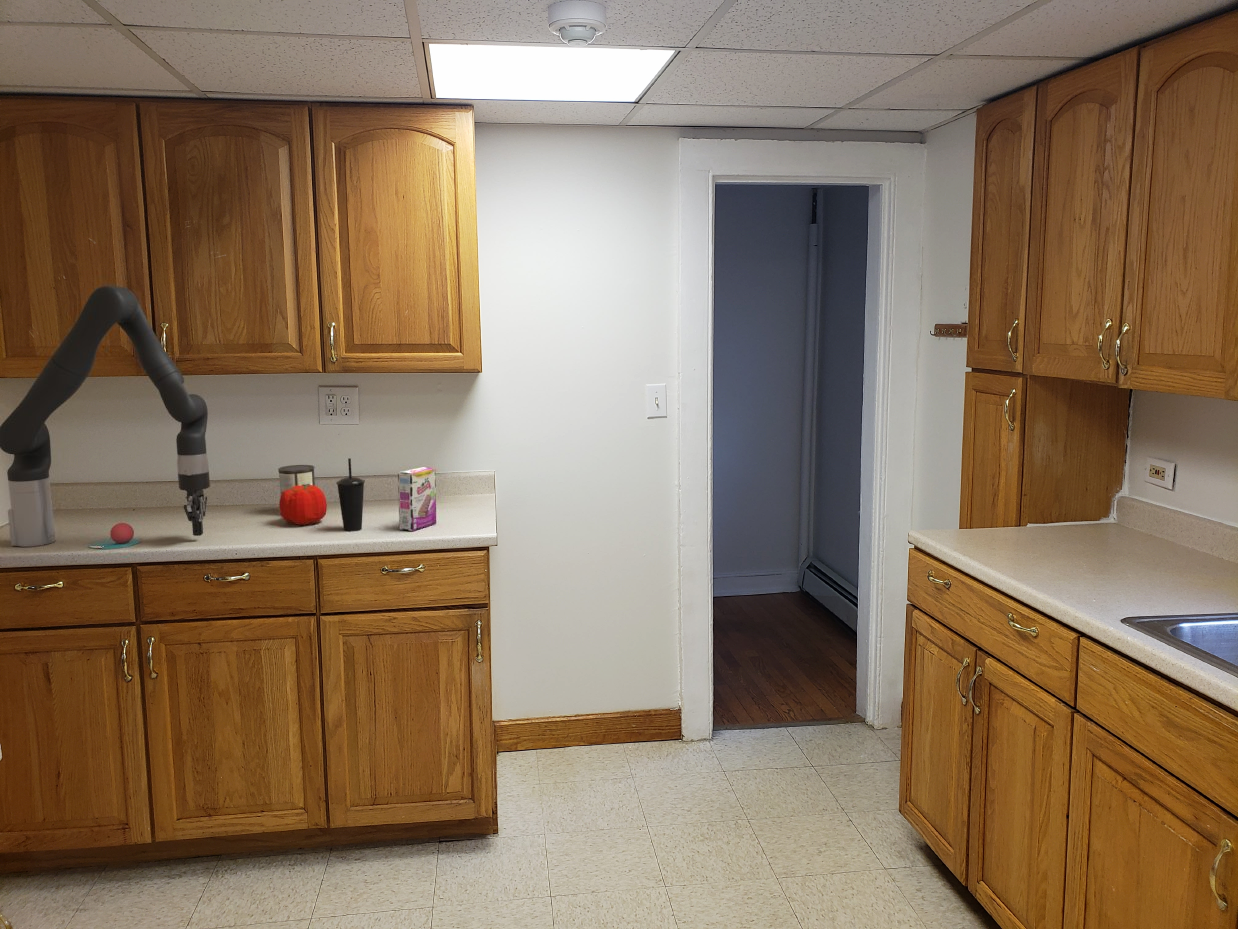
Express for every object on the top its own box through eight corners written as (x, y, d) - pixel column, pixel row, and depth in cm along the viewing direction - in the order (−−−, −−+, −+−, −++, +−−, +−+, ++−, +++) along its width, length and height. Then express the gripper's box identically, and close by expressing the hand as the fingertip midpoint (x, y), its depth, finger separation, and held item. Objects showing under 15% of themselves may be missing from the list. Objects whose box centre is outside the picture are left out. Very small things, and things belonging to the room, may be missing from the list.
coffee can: (294, 509, 293) (291, 464, 290) (323, 510, 290) (321, 465, 288) (273, 516, 283) (270, 469, 281) (304, 517, 280) (301, 470, 278)
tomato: (287, 518, 280) (285, 483, 278) (333, 517, 280) (331, 482, 279) (273, 528, 266) (271, 491, 264) (321, 527, 267) (319, 491, 265)
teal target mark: (80, 550, 243) (80, 549, 243) (99, 539, 254) (99, 538, 254) (130, 548, 244) (130, 547, 244) (146, 537, 256) (146, 536, 256)
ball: (127, 547, 247) (105, 544, 246) (135, 542, 252) (113, 538, 251) (131, 527, 246) (108, 523, 245) (138, 522, 252) (116, 519, 251)
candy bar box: (413, 532, 261) (411, 473, 258) (398, 530, 263) (396, 472, 261) (438, 524, 271) (436, 467, 268) (423, 522, 273) (421, 466, 271)
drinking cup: (365, 531, 261) (362, 460, 258) (337, 533, 260) (333, 461, 257) (368, 525, 269) (365, 456, 266) (340, 527, 268) (336, 456, 264)
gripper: (185, 467, 255) (190, 530, 258) (170, 475, 242) (175, 541, 245) (215, 466, 256) (219, 529, 259) (201, 474, 243) (206, 540, 246)
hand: (198, 535), depth 252 cm, fingers closed
